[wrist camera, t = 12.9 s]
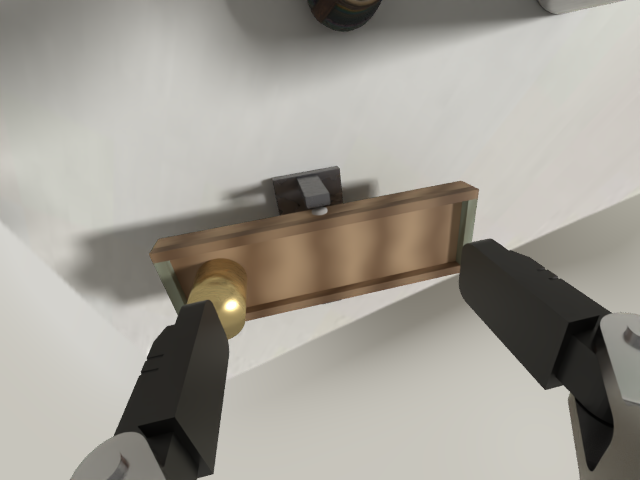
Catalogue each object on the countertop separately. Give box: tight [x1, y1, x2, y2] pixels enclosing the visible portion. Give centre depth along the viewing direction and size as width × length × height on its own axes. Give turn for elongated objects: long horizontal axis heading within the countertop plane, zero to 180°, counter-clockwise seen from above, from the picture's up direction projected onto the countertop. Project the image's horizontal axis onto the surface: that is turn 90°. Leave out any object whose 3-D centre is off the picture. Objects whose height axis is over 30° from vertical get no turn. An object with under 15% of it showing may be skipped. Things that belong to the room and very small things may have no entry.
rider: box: [187, 258, 247, 339], centre depth 28 cm, size 5×5×6 cm
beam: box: [149, 181, 479, 321], centre depth 32 cm, size 32×10×3 cm, turn 97°
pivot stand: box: [272, 166, 343, 304], centre depth 36 cm, size 8×14×8 cm, turn 7°
